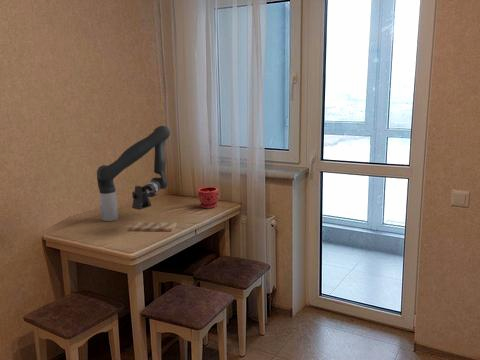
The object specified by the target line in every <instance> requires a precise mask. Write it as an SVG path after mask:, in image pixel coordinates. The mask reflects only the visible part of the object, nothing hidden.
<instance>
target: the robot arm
mask: <svg viewBox="0 0 480 360" xmlns="http://www.w3.org/2000/svg"><path fill="white" fill-rule="evenodd" d="M170 134H171V131H170V128H169V127H167V125H166V126H165V125H160V126H157V127H155V128H154V129H153V131H152V133H150V134H149V135H148V136H147V137H145V138H142V139H141V140H138V141H137V142H136V143H133V144H132V145H130V146H129V147H128V148H127V149H125V150H124V151H123V152H122V153H121V155H120V156H119V157H118V158H117V159H115V161H114V162H112V163H110V164H109V165H105V164H103V165H100V166H99V167H98V168H97V170H96V179H97V180H96V181H97V186H98V191H99V198H100V204H99V213H100V220H101V221H103V222H113V221H114V222H115V221H117V220H119V214H118V203H117V194H116V193H117V192H116V186H115V183H114V179H115V178H116V177H118V175H120V173H122V172H123V171H125V169H127V168H129V167H130V166H132V165H133V164H134V163H136V162H138V161H140V159H141V158H143V157H144V156H145V155H146V154H147V153H149V152H150V151H151V150H152V149H153V148H154V161H153V163H154V164H153V165H154V166H153V173H154V174H156V175H159V176H160V177H153V178H151V179H150V182H148V183H146V184H144V185H143V186H142V187H145V188H146V193H147V194H145V195H144V199H146V198H149V199H150V198H153V197H156V196H158V192H159V191H160V190H166V189H167V188H168V185H169V184H168V178H167V173H166V164H167V163H166V162H167V161H166V153H165V152H166V151H165V145H166V140H167V139H169V137H170ZM131 194H132V195H131V196H132V200H134V199H135V190H134V191H132V192H131Z"/></svg>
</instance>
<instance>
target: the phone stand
mask: <svg viewBox="0 0 480 360" xmlns="http://www.w3.org/2000/svg"><path fill="white" fill-rule="evenodd" d="M134 191H135V199H132V200H133V201H132V207H131V208H132V209H134V210H138V211H139V210H143V209H147V208H149V207H152V203H151V200H150V197H149V198H146V199H144V195H145V194H147V193H146V188H145V187H143V186H142V185H141V186H140V185H135V187H134Z"/></svg>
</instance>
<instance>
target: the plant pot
mask: <svg viewBox="0 0 480 360" xmlns="http://www.w3.org/2000/svg"><path fill="white" fill-rule="evenodd" d="M197 194H198V199H199V202H200V204H199V205H200V207H202V208H204V209H212V208H213V209H214V208H216V207H217V206H218V204H219V203H218V199H219V189H218V188H217V187H214V186H205V187H201V188H199V189H198V190H197Z"/></svg>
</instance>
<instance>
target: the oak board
mask: <svg viewBox="0 0 480 360" xmlns="http://www.w3.org/2000/svg"><path fill="white" fill-rule="evenodd" d="M176 227H177V222H139V221H138V222H135V223H134V224H133V225H132V226H130V227H129V231H134V232H135V231H137V232H141V231H142V232H144V231H145V232H172V231H173V230H174V229H175V228H176Z"/></svg>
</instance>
